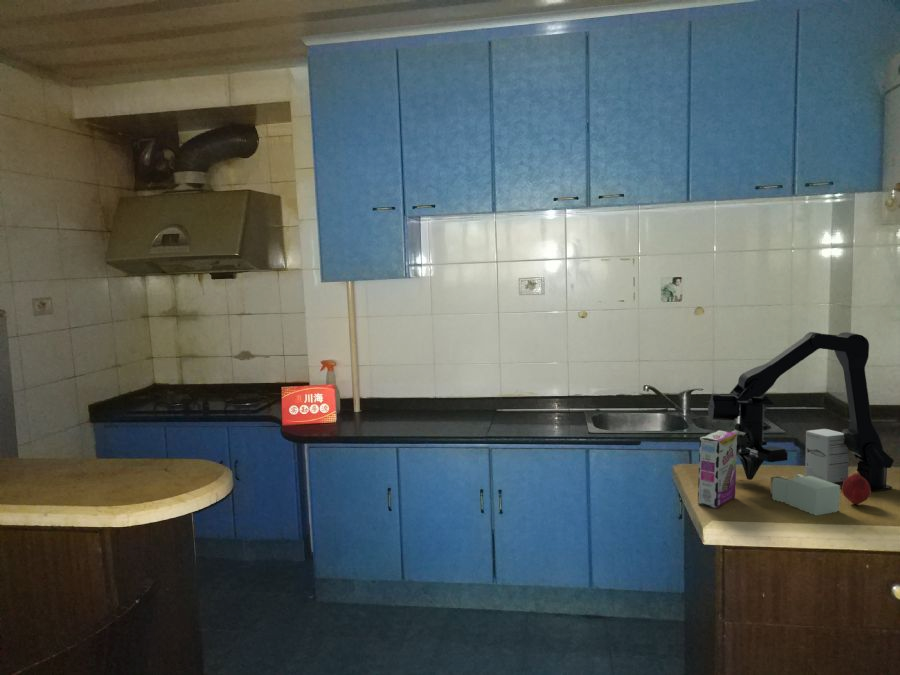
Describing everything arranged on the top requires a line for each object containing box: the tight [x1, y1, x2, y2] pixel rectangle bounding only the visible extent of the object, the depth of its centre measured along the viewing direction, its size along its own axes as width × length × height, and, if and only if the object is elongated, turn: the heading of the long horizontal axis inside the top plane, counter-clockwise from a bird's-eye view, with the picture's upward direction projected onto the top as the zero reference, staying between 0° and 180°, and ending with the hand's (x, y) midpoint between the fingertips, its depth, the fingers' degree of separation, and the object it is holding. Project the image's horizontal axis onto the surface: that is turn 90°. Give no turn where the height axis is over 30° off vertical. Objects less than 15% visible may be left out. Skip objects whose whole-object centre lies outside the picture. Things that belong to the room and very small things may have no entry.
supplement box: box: [804, 428, 850, 484], centre depth 171 cm, size 7×7×13 cm
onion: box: [841, 470, 872, 505], centre depth 152 cm, size 6×6×8 cm
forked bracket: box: [771, 473, 841, 516], centre depth 152 cm, size 9×12×6 cm
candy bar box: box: [697, 429, 738, 509], centre depth 156 cm, size 11×5×16 cm, turn 134°
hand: (749, 479), depth 169 cm, fingers closed
